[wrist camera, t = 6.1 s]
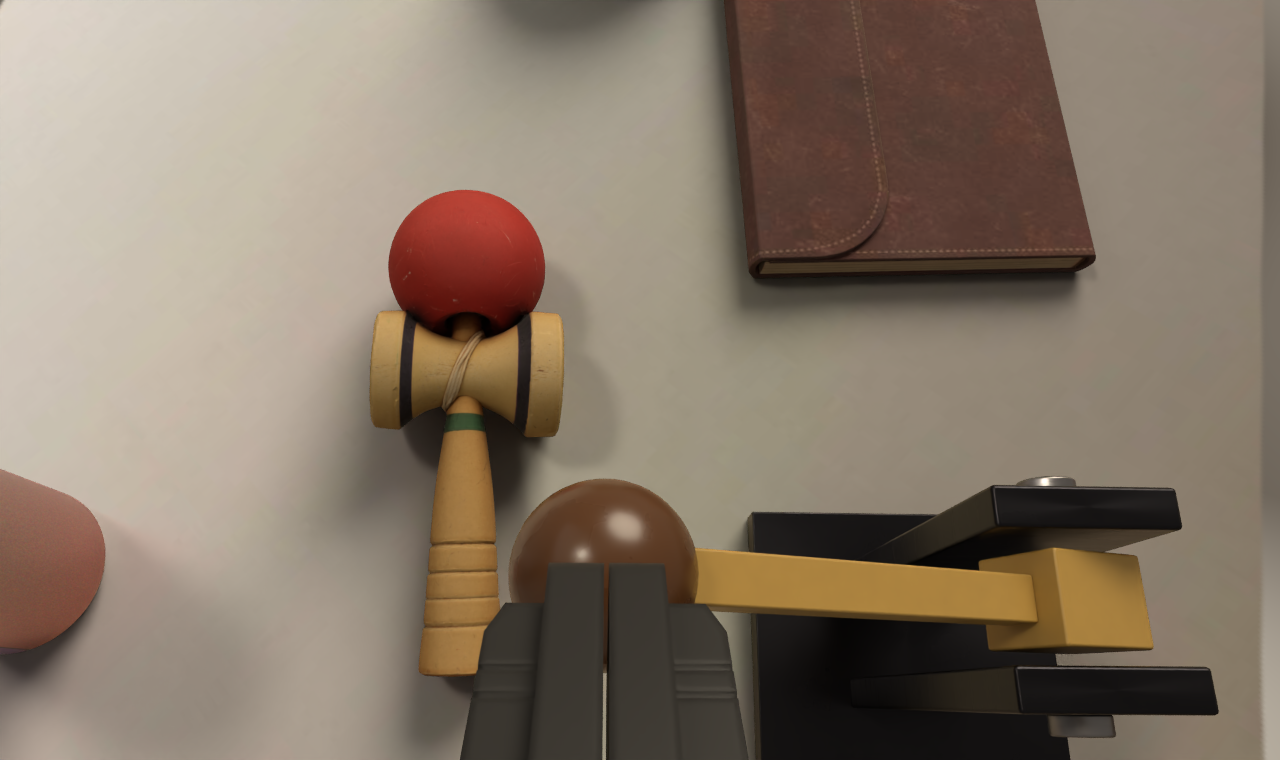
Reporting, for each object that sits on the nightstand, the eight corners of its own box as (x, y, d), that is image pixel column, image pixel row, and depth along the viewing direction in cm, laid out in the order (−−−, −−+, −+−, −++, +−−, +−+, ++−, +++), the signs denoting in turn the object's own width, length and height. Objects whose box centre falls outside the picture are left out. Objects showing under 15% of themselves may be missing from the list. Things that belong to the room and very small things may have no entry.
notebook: (1003, -75, 46) (1020, -108, 44) (1083, 271, 40) (1107, 250, 38) (713, -75, 45) (718, -109, 43) (745, 278, 39) (753, 257, 37)
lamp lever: (480, 673, 17) (539, 668, 14) (491, 489, 19) (548, 449, 15) (1055, 683, 23) (1185, 681, 20) (1035, 543, 24) (1155, 521, 21)
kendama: (594, 658, 34) (582, 215, 38) (557, 681, 28) (547, 150, 32) (401, 663, 35) (407, 231, 39) (325, 686, 29) (340, 170, 33)
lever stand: (755, 766, 32) (874, 818, 18) (747, 517, 35) (843, 399, 21) (1056, 767, 33) (1395, 818, 19) (1022, 521, 36) (1293, 408, 22)
